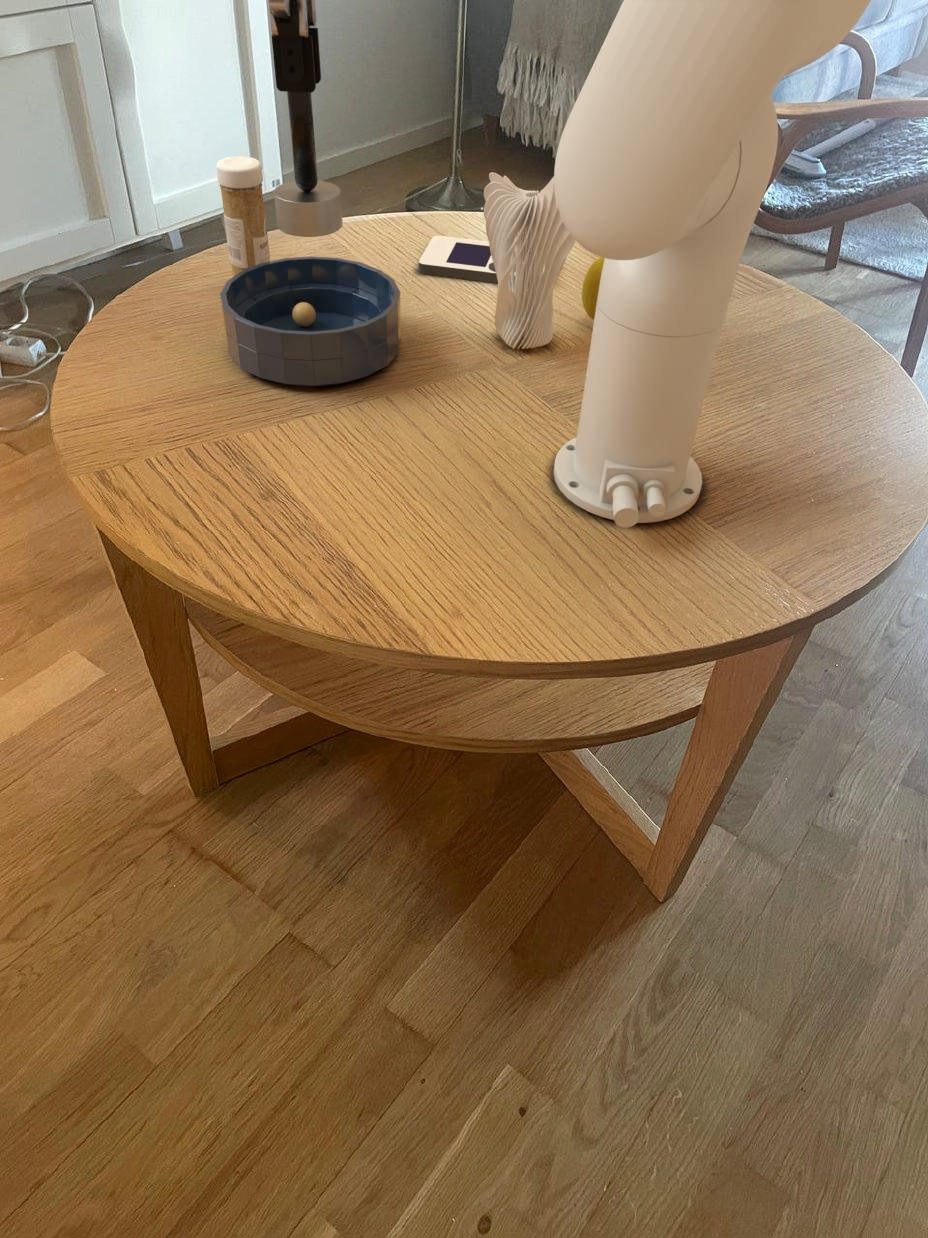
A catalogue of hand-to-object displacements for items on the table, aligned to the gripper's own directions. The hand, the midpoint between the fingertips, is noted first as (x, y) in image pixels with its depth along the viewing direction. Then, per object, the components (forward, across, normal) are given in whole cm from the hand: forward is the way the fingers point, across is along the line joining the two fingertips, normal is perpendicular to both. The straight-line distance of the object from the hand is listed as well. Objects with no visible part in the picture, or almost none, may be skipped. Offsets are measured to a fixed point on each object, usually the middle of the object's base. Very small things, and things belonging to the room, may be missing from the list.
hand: (299, 84), depth 77 cm
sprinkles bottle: (+24, -13, -10) cm, 29 cm away
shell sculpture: (+24, -4, +20) cm, 32 cm away
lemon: (+24, -9, +29) cm, 39 cm away
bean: (+22, -3, -2) cm, 22 cm away
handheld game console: (+24, -23, +16) cm, 37 cm away
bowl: (+24, 0, 0) cm, 24 cm away
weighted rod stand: (+12, 0, 0) cm, 12 cm away
